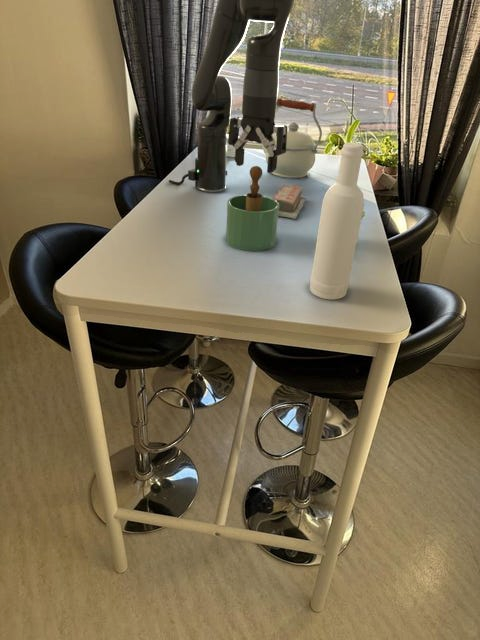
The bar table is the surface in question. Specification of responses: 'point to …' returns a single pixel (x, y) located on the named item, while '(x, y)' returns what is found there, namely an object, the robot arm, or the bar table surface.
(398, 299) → the bar table surface
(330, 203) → the bottle
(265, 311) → the bar table surface
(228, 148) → the white small box
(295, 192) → the packaged product
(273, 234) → the cup
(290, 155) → the kettle
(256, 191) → the brown knobbed turned figurine
